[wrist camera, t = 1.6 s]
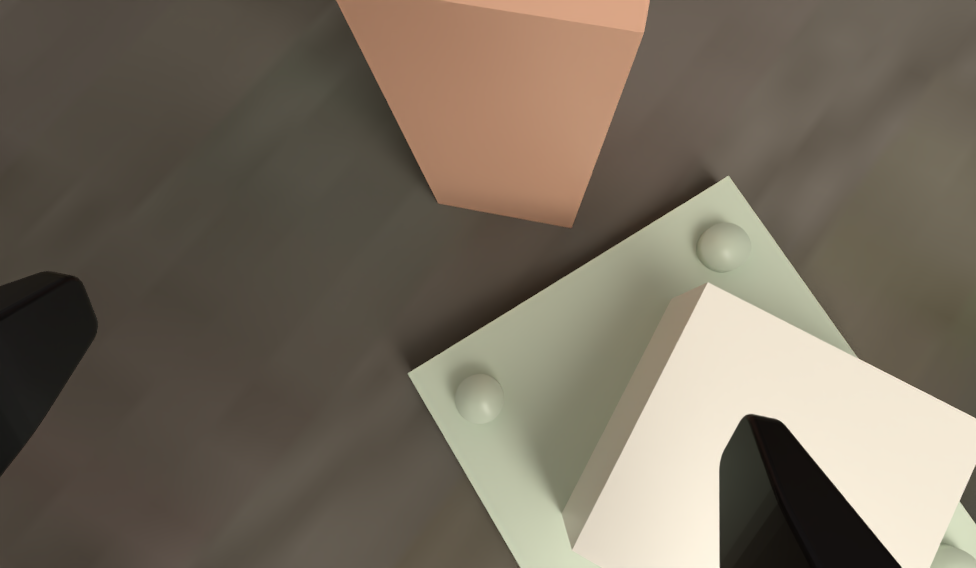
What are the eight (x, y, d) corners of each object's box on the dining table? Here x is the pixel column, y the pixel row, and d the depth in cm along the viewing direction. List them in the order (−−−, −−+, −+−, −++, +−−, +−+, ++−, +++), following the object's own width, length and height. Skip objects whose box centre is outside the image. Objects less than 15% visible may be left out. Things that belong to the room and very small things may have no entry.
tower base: (1002, 587, 20) (1166, 661, 15) (665, 805, 19) (715, 958, 14) (719, 184, 22) (777, 131, 17) (412, 373, 22) (380, 375, 17)
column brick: (571, 228, 22) (644, 32, 9) (438, 203, 22) (326, -19, 10) (596, 100, 23) (695, -253, 10) (465, 78, 23) (396, -290, 10)
